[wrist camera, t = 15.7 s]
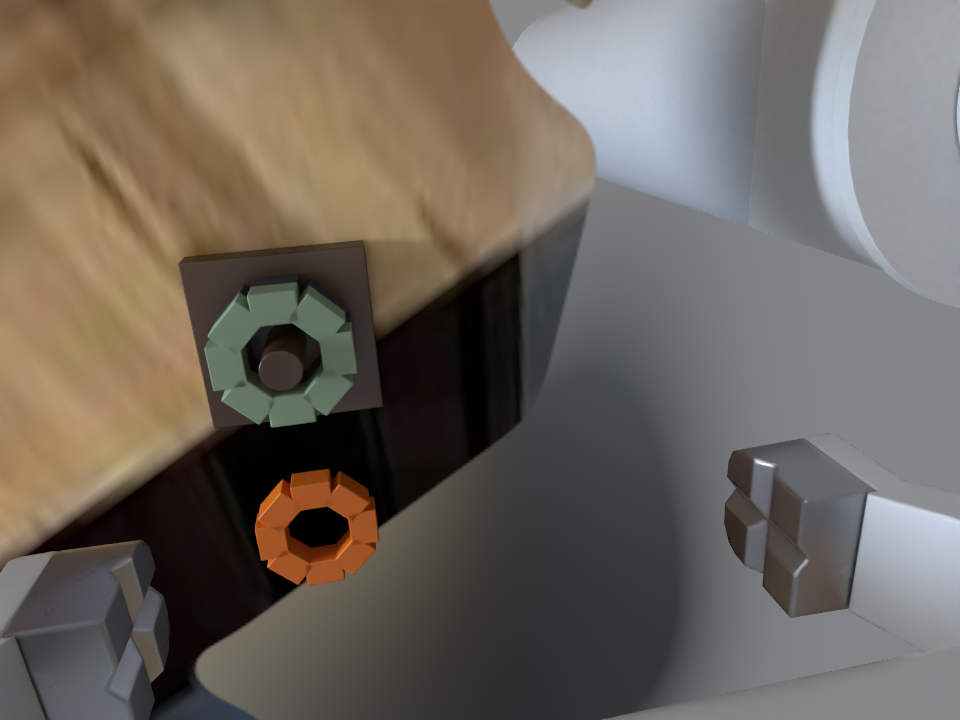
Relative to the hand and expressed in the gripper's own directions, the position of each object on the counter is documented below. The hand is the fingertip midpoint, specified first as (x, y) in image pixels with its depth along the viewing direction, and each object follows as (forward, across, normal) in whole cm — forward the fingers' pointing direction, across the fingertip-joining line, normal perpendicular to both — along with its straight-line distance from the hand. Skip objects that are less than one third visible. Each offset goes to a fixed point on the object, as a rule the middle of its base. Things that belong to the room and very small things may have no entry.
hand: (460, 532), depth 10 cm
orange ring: (+29, +5, +18) cm, 35 cm away
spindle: (+29, +5, +6) cm, 30 cm away
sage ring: (+26, +5, +6) cm, 27 cm away
